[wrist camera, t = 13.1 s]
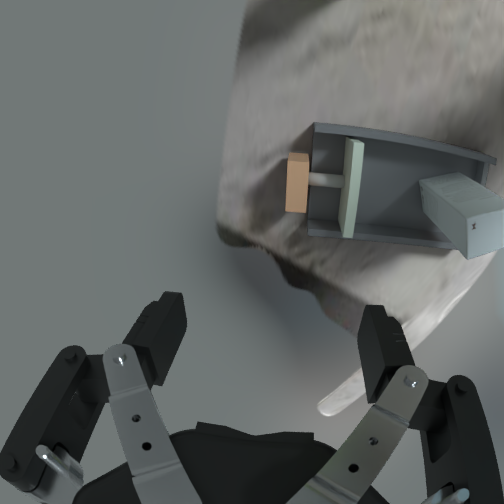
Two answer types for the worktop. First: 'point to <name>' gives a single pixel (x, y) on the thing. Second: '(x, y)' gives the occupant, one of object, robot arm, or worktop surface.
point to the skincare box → (464, 213)
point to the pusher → (327, 183)
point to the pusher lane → (386, 183)
